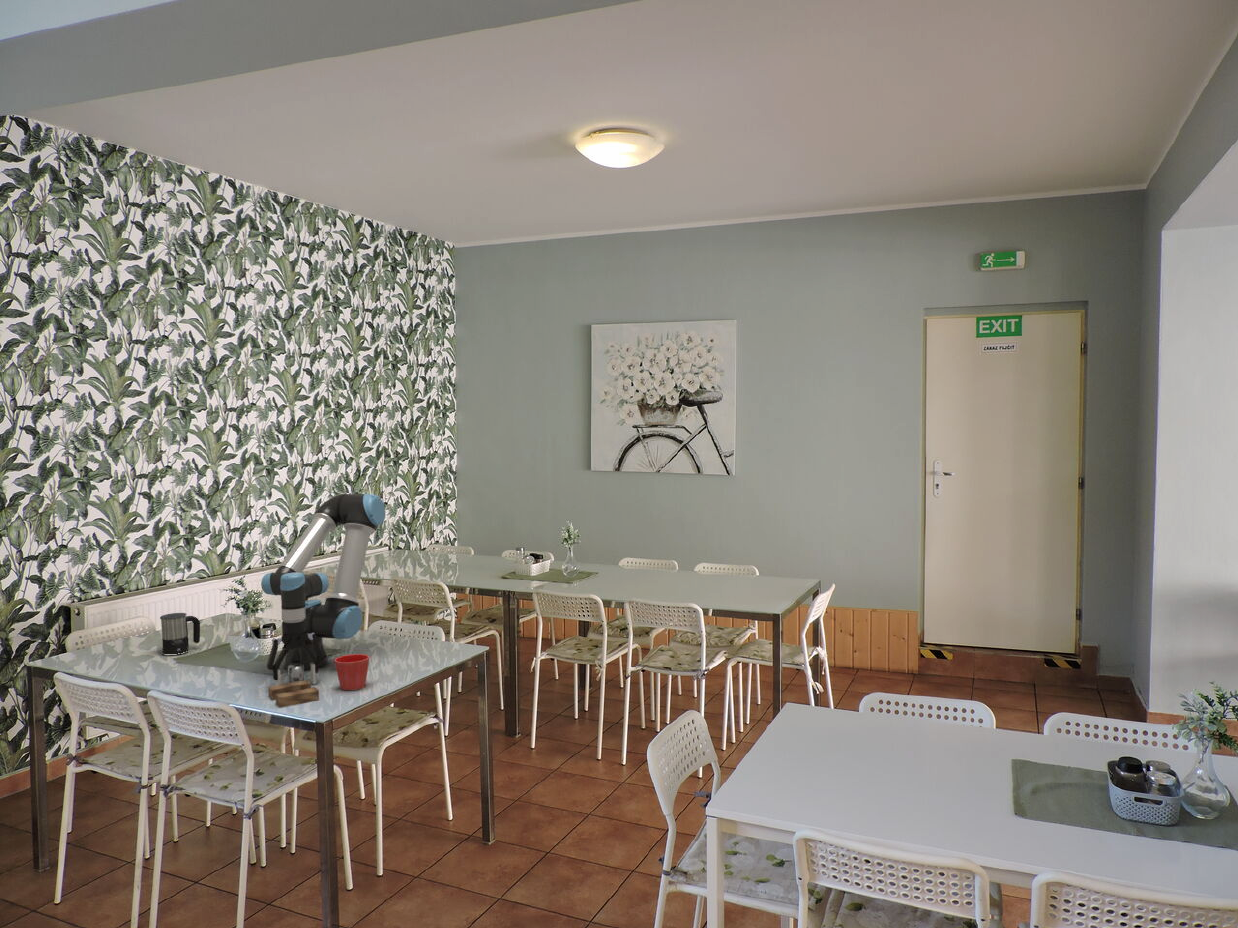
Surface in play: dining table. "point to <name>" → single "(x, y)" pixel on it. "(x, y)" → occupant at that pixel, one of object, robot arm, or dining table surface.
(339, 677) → the flower pot
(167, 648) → the milk frother
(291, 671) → the bushing
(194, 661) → the dining table surface
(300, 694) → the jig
